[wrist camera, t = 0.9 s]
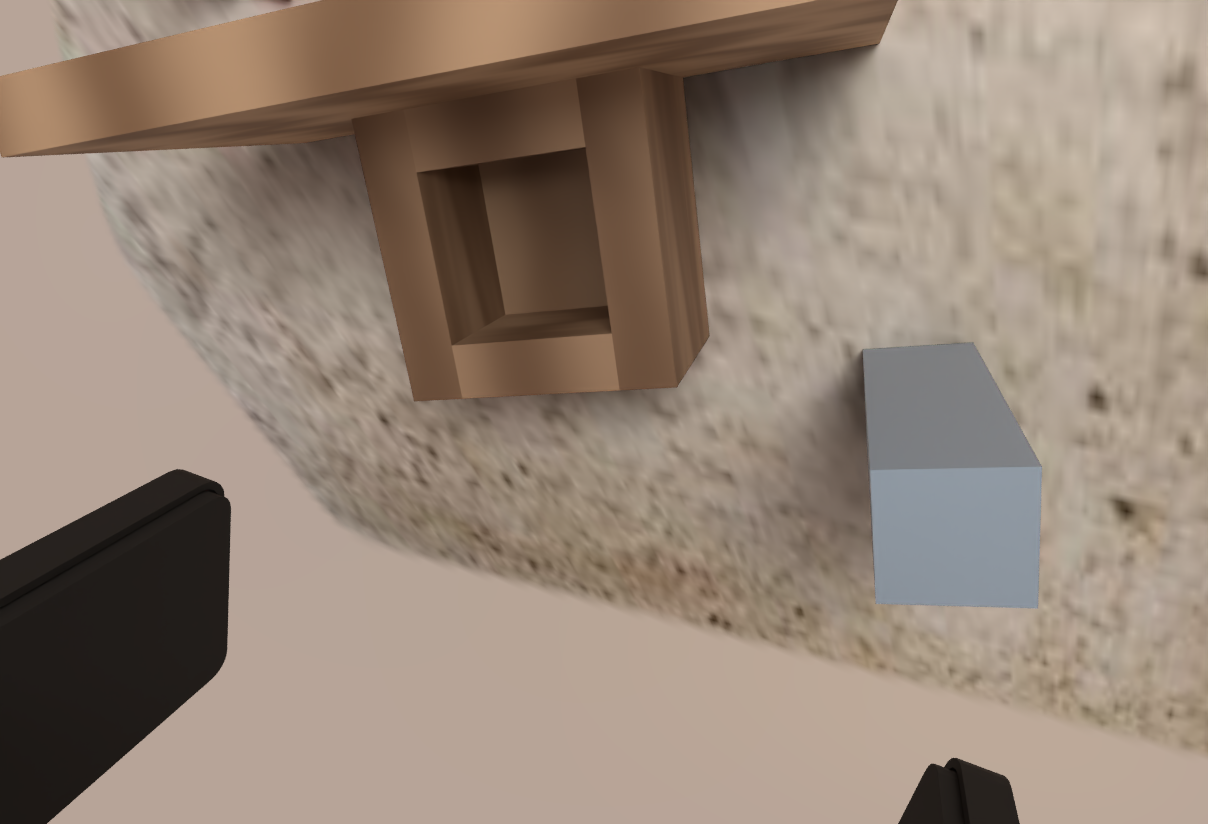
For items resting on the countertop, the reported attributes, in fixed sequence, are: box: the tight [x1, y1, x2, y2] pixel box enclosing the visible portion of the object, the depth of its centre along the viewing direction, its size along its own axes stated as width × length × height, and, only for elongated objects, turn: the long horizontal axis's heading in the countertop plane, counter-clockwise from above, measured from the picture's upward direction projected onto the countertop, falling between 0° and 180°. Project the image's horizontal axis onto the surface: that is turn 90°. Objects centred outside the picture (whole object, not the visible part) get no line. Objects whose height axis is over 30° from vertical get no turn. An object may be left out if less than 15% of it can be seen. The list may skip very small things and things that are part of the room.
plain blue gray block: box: [863, 342, 1042, 608], centre depth 26 cm, size 4×4×12 cm
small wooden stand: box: [0, 0, 898, 401], centre depth 27 cm, size 24×12×14 cm, turn 98°
